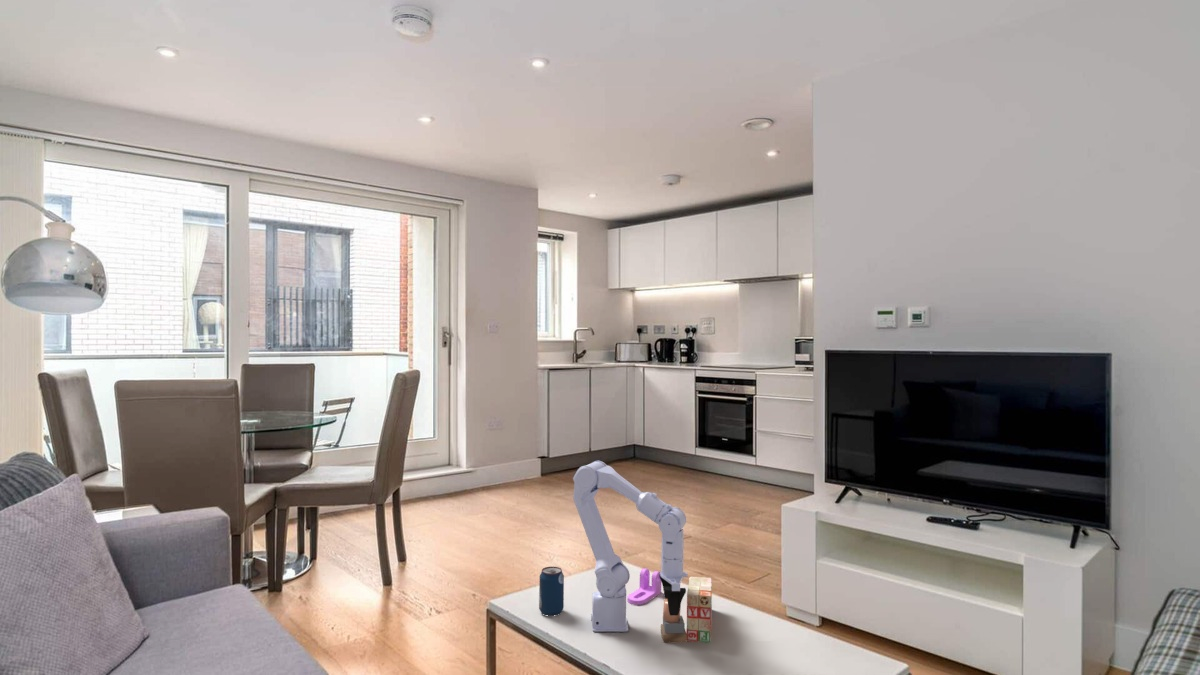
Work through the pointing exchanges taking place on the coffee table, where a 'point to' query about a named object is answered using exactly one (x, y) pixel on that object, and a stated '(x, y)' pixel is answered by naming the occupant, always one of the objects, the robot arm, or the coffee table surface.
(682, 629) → the tower top
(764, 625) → the coffee table surface
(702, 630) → the stack of blocks
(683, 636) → the tower base
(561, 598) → the soda can
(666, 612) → the terracotta cylinder
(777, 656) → the coffee table surface
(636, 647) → the coffee table surface
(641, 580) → the bracket
